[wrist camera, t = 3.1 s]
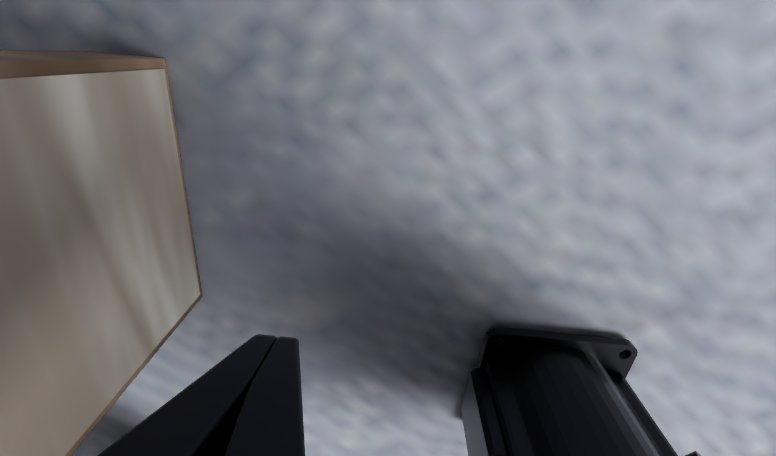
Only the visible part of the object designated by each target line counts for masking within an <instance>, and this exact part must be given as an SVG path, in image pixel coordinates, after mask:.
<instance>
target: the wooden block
mask: <svg viewBox="0 0 776 456" xmlns="http://www.w3.org/2000/svg"><path fill="white" fill-rule="evenodd" d="M201 297H202V291H201V284H200V278H199V272H198V265H197V259H196V252H195V246H194V240H193V233H192V227H191V221H190V214H189V208H188V201H187V195H186V189H185V182H184V176H183V170H182V163H181V157H180V150H179V144H178V138H177V131H176V125H175V119H174V112H173V106H172V99H171V93H170V87H169V80H168V74H167V68H166V61H165V58H155V57H145V56H134V55H124V54H113V53H103V52H93V51H25V50H0V456H71V455H72V454H73V453H74V451H75V450H76V449H77V448H78V446H79V445H80V444H81V443H82V442H83V440H84V439H85V438H86V437H87V436H88V434H89V433H90V432H91V431H92V430H93V428H94V427H95V426H96V425H97V423H98V422H99V421H100V420H101V419H102V417H103V416H104V415H105V414H106V413H107V411H108V410H109V409H110V408H111V406H112V405H113V404H114V403H115V402H116V400H117V399H118V398H119V397H120V396H121V394H122V393H123V392H124V391H125V390H126V388H127V387H128V386H129V385H130V383H131V382H132V381H133V380H134V379H135V377H136V376H137V375H138V374H139V373H140V371H141V370H142V369H143V368H144V366H145V365H146V364H147V363H148V362H149V360H150V359H151V358H152V357H153V356H154V354H155V353H156V352H157V351H158V350H159V348H160V347H161V346H162V345H163V343H164V342H165V341H166V340H167V339H168V337H169V336H170V335H171V334H172V333H173V331H174V330H175V329H176V328H177V326H178V325H179V324H180V323H181V322H182V320H183V319H184V318H185V317H186V316H187V314H188V313H189V312H190V311H191V310H192V308H193V307H194V306H195V305H196V303H197V302H198V301H199V300H200V299H201Z"/></svg>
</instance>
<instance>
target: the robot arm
mask: <svg viewBox="0 0 776 456" xmlns="http://www.w3.org/2000/svg"><path fill="white" fill-rule="evenodd" d="M496 338H501V339H500V340H498V341H494V340H495V339H496ZM636 356H637V349H636V348H635V347H634V345H633V344H632V343H631V342H630V341H629V340H626V339H618V338H607V337H596V336H586V335H575V334H564V333H553V332H542V331H532V330H521V329H510V328H499V327H498V328H492V329H490V330H488V331H487V332H486V334H485V337H484V341H483V345H482V349H481V352H480V356H479V360H478V364H477V368H473V369H472V370H471V371H470V373H469V377H468V381H467V385H466V389H465V393H464V397H463V401H462V405H461V413H462V419H463V425H464V431H465V437H466V443H467V449H468V455H469V456H678V455H677V454H676V452H675V451H674V449H673V448H672V446H671V445H670V444H669V442H668V441H667V439H666V438H665V436H664V435H663V433H662V432H661V430H660V429H659V427H658V426H657V425H656V423H655V422H654V420H653V419H652V417H651V416H650V414H649V413H648V411H647V410H646V409H645V407H644V406H643V404H642V403H641V401H640V400H639V398H638V397H637V395H636V394H635V393H634V391H633V390H632V388H631V387H630V385H629V384H628V382H627V381H626V379H625V378H626V376H627V374H628V372H629V370H630V368H631V366H632V364H633V362H634V360H635V358H636ZM98 456H305V445H304V427H303V410H302V392H301V375H300V357H299V341H298V339H297V338H292V337H278V338H277V337H275V336H271V335H260V334H259V335H255V336H253V337H252V338H251V339H249V340H248V341H247V342H246V343H244V344H243V345H242V346H240V347H239V348H238V349H236V350H235V351H234V352H232V353H231V354H230V355H229V356H227V357H226V358H225V359H223V360H222V361H221V362H219V363H218V364H217V365H215V366H214V367H213V368H211V369H210V370H209V371H208V372H206V373H205V374H204V375H202V376H201V377H200V378H198V379H197V380H196V381H194V382H193V383H192V384H191V385H189V386H188V387H187V388H185V389H184V390H183V391H181V392H180V393H179V394H177V395H176V396H175V397H174V398H172V399H171V400H170V401H168V402H167V403H166V404H164V405H163V406H162V407H160V408H159V409H158V410H157V411H155V412H154V413H153V414H151V415H150V416H149V417H147V418H146V419H145V420H143V421H142V422H141V423H140V424H138V425H137V426H136V427H134V428H133V429H132V430H130V431H129V432H128V433H126V434H125V435H124V436H123V437H121V438H120V439H119V440H117V441H116V442H115V443H113V444H112V445H111V446H109V447H108V448H107V449H106V450H104V451H103V452H102V453H100V454H99V455H98ZM685 456H701V455H700V454H699V453H697V452H696V451H694V452H692V453H690V454H688V455H685Z"/></svg>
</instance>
